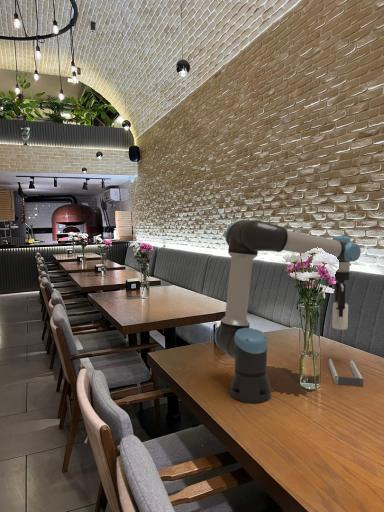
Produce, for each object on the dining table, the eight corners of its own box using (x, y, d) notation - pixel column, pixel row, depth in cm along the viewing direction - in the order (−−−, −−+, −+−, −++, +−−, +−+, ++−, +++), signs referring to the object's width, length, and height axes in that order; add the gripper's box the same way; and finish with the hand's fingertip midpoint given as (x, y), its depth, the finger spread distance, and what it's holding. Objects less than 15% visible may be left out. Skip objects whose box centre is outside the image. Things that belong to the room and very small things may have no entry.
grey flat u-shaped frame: (362, 386, 147) (363, 378, 147) (335, 384, 149) (335, 376, 149) (352, 367, 166) (352, 360, 166) (328, 365, 169) (328, 359, 168)
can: (349, 330, 168) (350, 303, 167) (335, 330, 168) (335, 303, 167) (344, 326, 174) (345, 300, 173) (330, 326, 175) (330, 300, 174)
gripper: (353, 273, 160) (351, 327, 162) (345, 268, 178) (344, 317, 180) (334, 273, 162) (333, 326, 163) (328, 268, 180) (327, 316, 181)
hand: (338, 321), depth 172 cm, fingers closed on can, 5 cm apart
